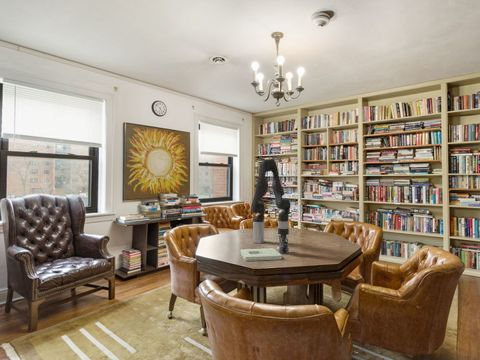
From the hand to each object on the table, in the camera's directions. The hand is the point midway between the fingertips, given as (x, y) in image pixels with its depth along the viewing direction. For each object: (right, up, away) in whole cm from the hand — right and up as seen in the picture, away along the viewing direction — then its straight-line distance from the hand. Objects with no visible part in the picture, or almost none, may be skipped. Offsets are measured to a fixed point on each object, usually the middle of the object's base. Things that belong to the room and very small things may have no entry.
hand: (283, 251), depth 198 cm
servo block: (0, -1, 0) cm, 1 cm away
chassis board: (-17, -1, -9) cm, 19 cm away
